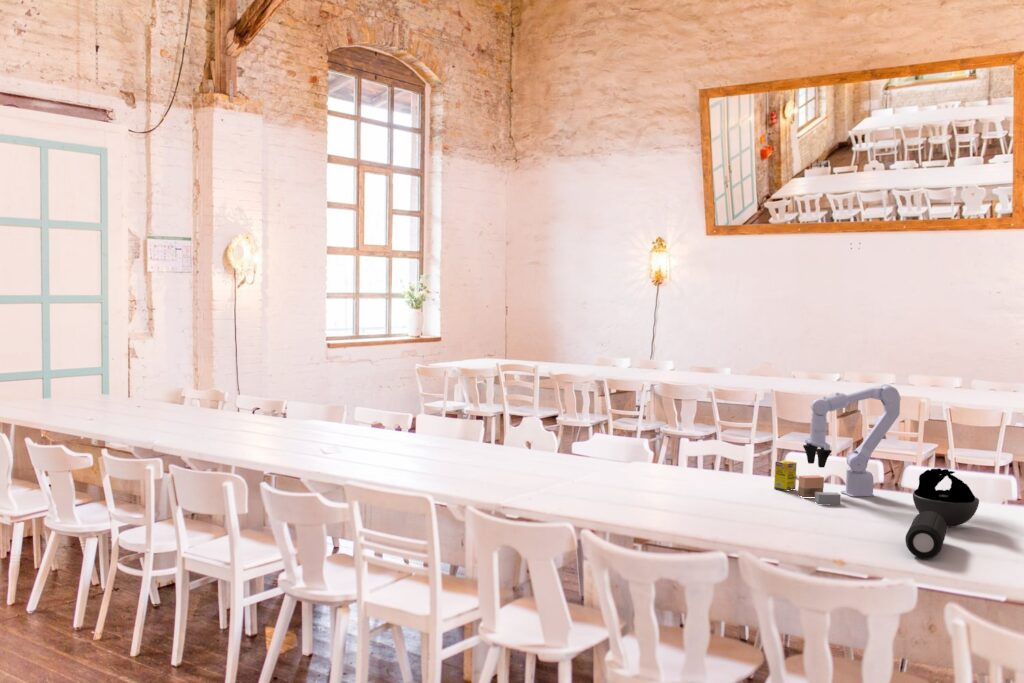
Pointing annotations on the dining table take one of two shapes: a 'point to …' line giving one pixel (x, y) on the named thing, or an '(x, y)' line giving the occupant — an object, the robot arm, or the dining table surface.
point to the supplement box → (785, 475)
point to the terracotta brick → (811, 481)
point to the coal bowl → (945, 497)
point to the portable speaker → (926, 534)
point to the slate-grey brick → (827, 498)
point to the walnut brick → (808, 491)
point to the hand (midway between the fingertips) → (816, 465)
